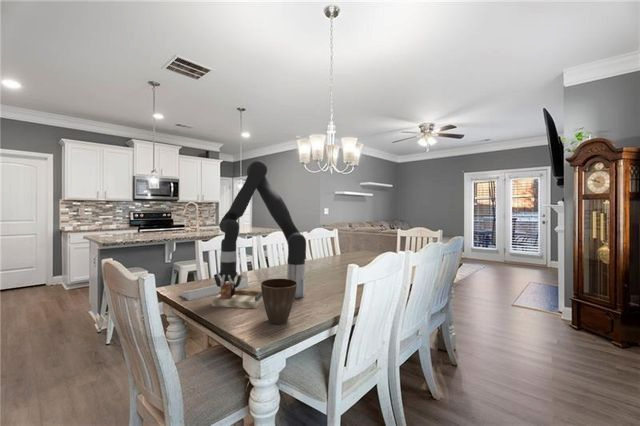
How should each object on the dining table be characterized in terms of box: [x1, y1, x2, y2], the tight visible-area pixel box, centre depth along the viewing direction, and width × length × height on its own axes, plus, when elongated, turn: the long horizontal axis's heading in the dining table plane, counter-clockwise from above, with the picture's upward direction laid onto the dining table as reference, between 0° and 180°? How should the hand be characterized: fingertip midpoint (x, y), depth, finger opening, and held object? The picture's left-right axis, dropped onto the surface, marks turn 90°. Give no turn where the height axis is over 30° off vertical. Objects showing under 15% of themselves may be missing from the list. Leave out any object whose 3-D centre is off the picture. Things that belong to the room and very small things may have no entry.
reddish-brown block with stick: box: [218, 281, 235, 299], centre depth 143 cm, size 4×12×6 cm, turn 175°
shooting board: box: [211, 289, 263, 309], centre depth 145 cm, size 21×11×5 cm, turn 85°
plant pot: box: [260, 278, 297, 325], centre depth 124 cm, size 15×15×16 cm
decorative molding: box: [179, 279, 250, 301], centre depth 163 cm, size 34×5×10 cm
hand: (227, 295), depth 145 cm, fingers closed on reddish-brown block with stick, 4 cm apart
